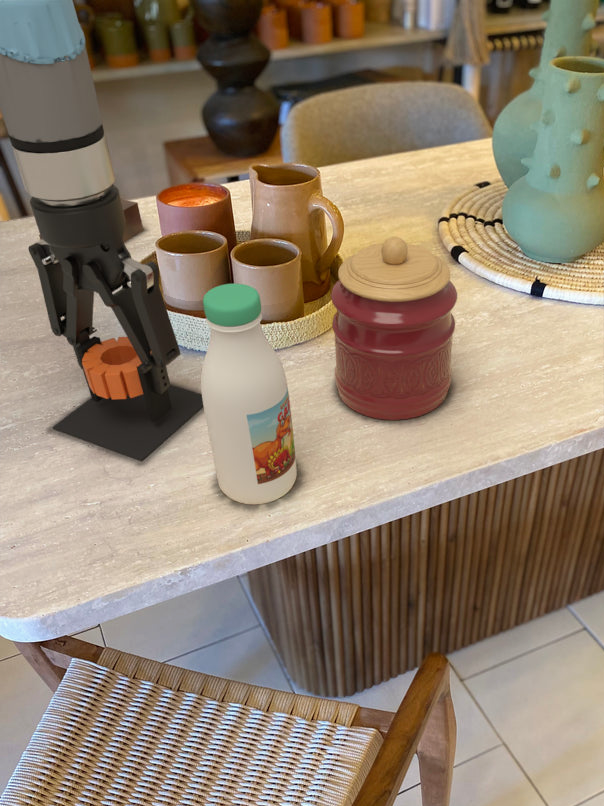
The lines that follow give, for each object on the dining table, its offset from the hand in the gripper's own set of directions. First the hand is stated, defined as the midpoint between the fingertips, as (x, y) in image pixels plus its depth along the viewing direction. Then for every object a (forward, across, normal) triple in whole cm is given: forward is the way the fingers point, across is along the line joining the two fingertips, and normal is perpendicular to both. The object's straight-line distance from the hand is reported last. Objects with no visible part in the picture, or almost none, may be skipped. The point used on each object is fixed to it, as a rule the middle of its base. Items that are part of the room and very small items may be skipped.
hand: (131, 404), depth 82 cm
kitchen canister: (+2, -23, -17) cm, 29 cm away
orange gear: (-3, 0, 0) cm, 3 cm away
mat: (+1, 0, 0) cm, 1 cm away
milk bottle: (+2, -18, +3) cm, 18 cm away
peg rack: (+1, +32, -30) cm, 44 cm away
